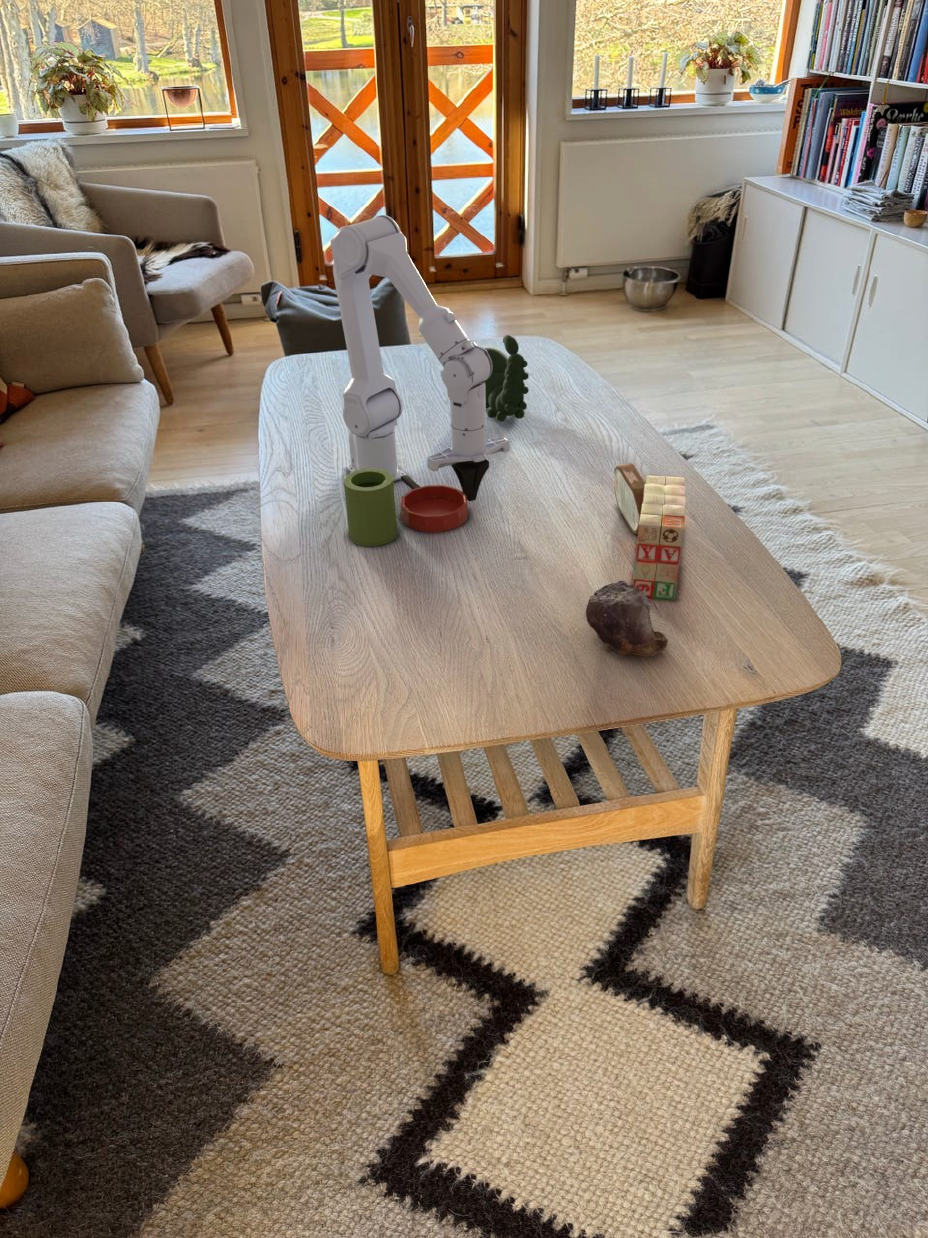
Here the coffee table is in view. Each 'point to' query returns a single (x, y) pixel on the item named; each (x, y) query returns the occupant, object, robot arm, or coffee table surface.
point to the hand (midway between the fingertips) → (469, 498)
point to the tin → (629, 494)
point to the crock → (370, 506)
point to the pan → (433, 507)
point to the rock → (624, 620)
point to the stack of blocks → (660, 536)
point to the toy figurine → (506, 382)
